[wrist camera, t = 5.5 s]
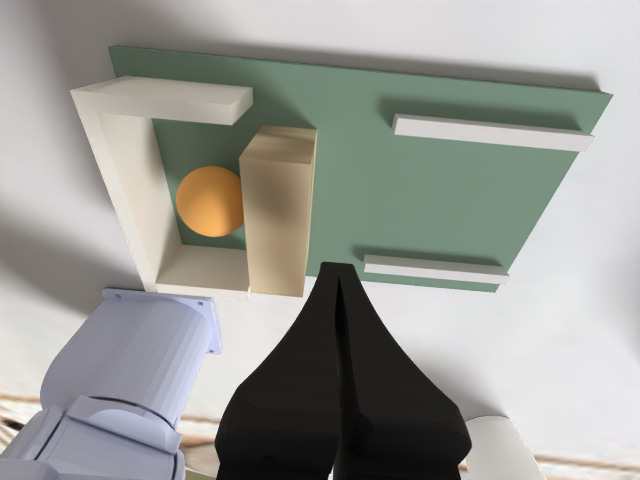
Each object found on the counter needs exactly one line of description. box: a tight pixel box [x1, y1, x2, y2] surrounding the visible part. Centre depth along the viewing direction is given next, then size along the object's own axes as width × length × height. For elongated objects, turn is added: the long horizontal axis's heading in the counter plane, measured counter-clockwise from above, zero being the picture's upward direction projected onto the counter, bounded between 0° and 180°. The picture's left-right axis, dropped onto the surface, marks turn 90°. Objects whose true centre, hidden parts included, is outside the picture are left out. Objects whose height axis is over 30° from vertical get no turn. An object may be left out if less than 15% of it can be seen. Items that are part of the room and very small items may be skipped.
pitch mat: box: [108, 46, 613, 293], centre depth 19 cm, size 25×14×2 cm, turn 86°
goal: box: [70, 76, 253, 300], centre depth 17 cm, size 6×12×4 cm, turn 176°
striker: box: [239, 124, 317, 297], centre depth 17 cm, size 3×8×5 cm, turn 176°
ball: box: [176, 166, 244, 237], centre depth 17 cm, size 4×4×4 cm
